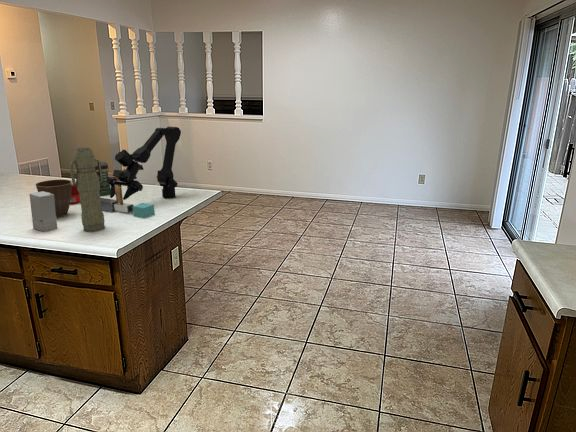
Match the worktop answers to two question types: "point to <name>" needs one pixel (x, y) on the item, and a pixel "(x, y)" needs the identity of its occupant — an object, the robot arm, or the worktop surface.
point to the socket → (143, 210)
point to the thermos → (88, 189)
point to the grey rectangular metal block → (107, 204)
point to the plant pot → (58, 194)
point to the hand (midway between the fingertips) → (117, 198)
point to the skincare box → (43, 211)
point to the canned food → (74, 195)
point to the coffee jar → (104, 185)
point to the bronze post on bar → (121, 201)
